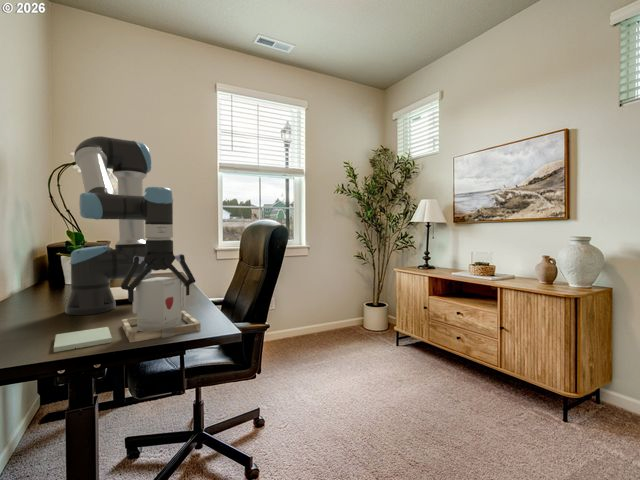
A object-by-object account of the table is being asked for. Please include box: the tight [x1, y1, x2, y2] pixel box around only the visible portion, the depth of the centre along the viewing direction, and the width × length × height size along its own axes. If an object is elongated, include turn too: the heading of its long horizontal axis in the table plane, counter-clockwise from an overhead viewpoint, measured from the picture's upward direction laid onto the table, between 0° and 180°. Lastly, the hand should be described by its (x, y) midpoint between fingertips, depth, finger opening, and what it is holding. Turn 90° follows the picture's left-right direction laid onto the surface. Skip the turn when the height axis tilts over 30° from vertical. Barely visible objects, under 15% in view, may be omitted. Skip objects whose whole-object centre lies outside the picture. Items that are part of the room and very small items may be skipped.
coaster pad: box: [53, 326, 113, 353], centre depth 89 cm, size 12×12×1 cm
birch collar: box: [121, 310, 201, 343], centre depth 100 cm, size 20×18×2 cm
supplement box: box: [136, 276, 183, 332], centre depth 100 cm, size 9×9×15 cm
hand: (160, 309), depth 100 cm, fingers open, 13 cm apart
